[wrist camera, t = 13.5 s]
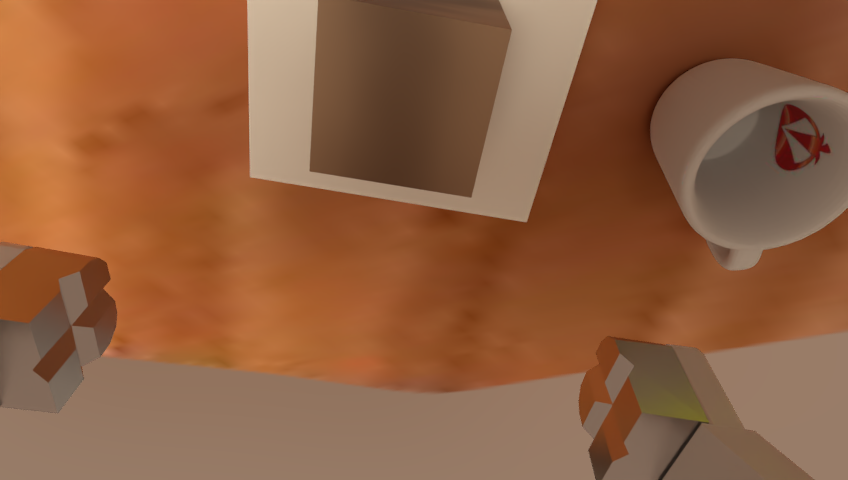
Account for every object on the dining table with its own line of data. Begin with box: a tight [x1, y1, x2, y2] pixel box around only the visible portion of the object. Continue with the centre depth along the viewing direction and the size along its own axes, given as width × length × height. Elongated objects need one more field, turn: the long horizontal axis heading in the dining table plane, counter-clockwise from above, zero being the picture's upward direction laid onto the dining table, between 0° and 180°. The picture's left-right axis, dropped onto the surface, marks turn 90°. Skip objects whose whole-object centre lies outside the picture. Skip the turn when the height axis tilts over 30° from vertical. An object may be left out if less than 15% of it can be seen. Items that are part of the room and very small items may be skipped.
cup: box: [650, 58, 848, 270], centre depth 27 cm, size 11×8×8 cm
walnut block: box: [309, 0, 512, 198], centre depth 21 cm, size 6×6×6 cm
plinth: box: [247, 0, 597, 222], centre depth 26 cm, size 14×14×6 cm
